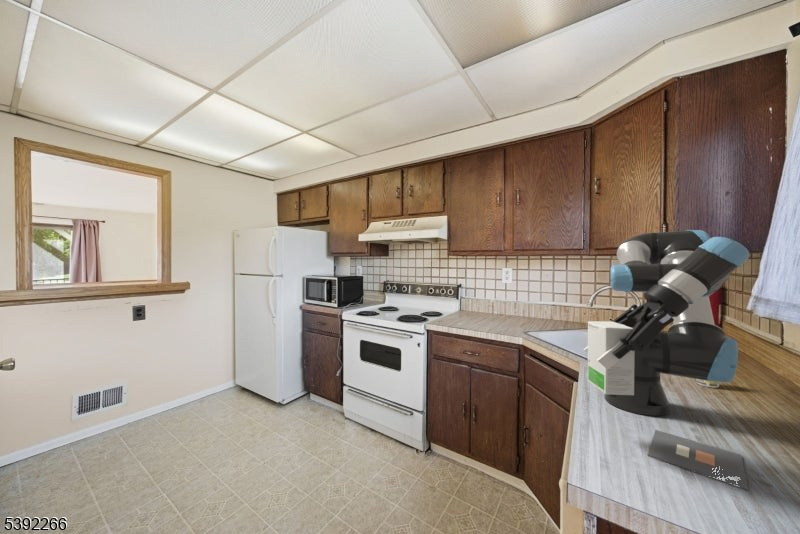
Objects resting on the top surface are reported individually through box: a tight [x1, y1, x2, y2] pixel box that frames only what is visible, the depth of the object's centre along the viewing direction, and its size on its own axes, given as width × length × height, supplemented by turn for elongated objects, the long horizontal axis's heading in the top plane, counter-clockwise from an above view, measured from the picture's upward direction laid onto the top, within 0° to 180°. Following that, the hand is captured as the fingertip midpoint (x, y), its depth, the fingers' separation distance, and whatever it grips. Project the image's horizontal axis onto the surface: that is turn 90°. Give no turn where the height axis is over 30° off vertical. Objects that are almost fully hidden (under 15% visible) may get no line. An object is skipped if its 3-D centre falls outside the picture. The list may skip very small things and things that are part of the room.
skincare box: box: [587, 320, 634, 395], centre depth 71 cm, size 8×7×16 cm
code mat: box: [647, 429, 749, 491], centre depth 63 cm, size 14×14×1 cm
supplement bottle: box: [695, 379, 720, 389], centre depth 101 cm, size 6×6×10 cm
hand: (594, 358), depth 72 cm, fingers closed on skincare box, 9 cm apart
